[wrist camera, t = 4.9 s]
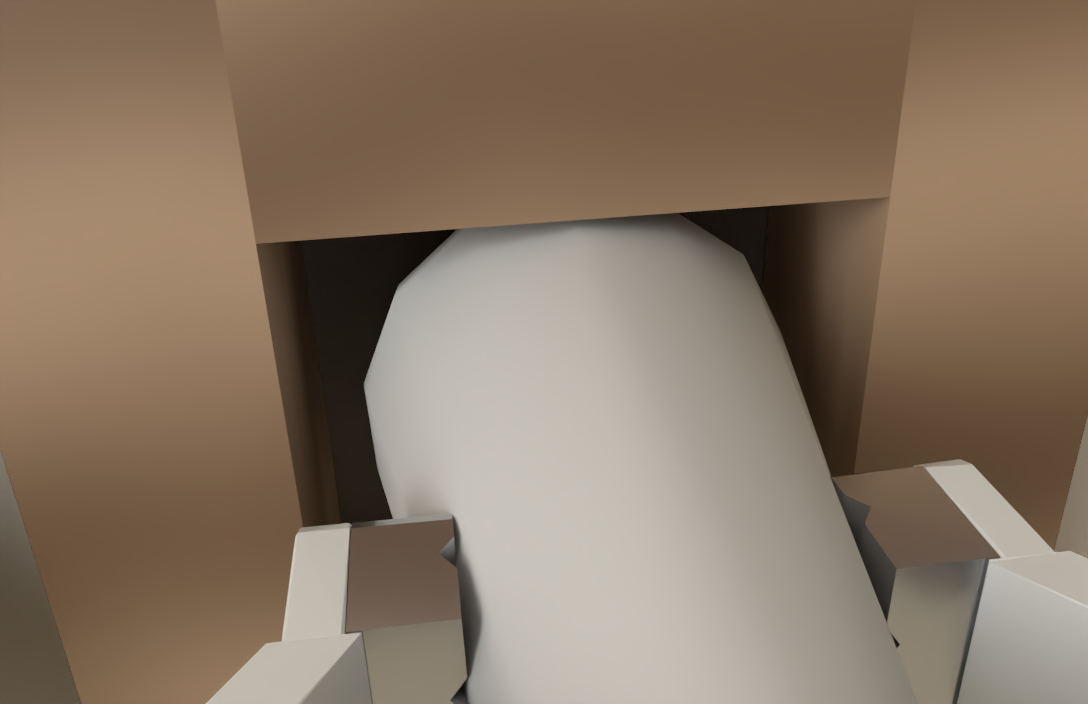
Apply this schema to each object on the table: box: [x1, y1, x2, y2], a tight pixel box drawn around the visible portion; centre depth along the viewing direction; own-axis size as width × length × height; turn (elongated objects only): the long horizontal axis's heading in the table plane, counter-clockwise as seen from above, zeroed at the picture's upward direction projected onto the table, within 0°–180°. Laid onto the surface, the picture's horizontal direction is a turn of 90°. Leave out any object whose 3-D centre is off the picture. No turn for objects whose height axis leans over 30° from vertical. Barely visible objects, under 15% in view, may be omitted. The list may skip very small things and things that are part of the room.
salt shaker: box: [364, 213, 918, 704], centre depth 10 cm, size 6×6×13 cm
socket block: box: [0, 0, 1088, 704], centre depth 15 cm, size 14×14×4 cm
